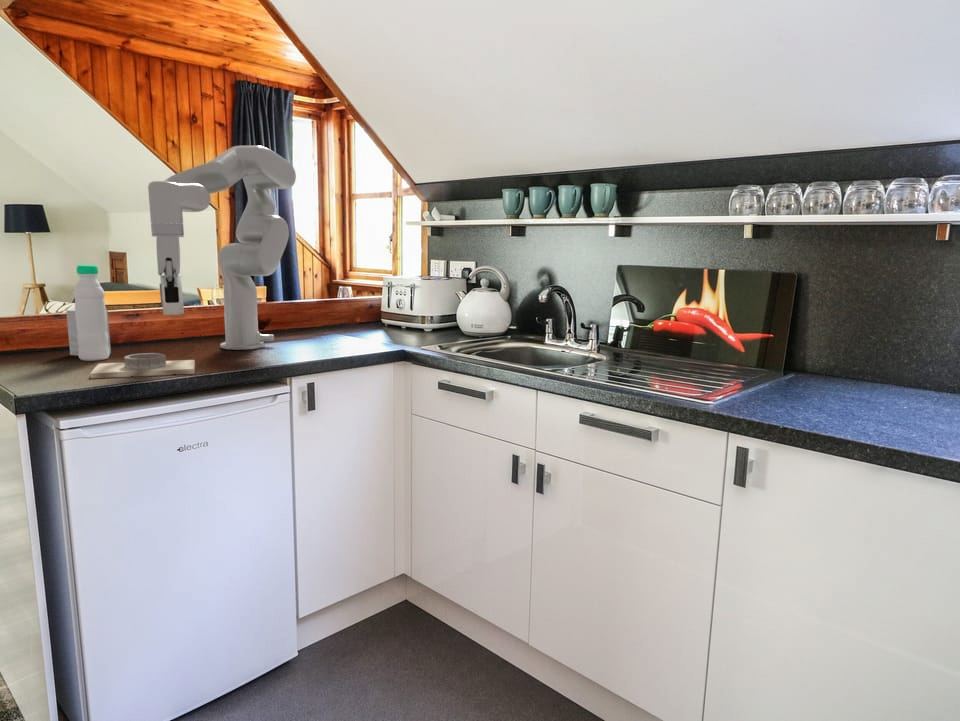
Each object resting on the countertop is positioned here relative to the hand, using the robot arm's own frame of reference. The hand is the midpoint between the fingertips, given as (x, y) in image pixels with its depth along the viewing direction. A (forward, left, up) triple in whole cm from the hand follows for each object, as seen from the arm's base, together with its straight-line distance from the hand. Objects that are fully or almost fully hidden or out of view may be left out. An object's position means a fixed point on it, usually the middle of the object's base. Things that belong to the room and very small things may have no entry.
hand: (172, 300), depth 169 cm
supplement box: (+22, -18, -17) cm, 33 cm away
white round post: (0, 0, -4) cm, 4 cm away
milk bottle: (+20, -10, -17) cm, 28 cm away
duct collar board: (+6, +11, -16) cm, 21 cm away
